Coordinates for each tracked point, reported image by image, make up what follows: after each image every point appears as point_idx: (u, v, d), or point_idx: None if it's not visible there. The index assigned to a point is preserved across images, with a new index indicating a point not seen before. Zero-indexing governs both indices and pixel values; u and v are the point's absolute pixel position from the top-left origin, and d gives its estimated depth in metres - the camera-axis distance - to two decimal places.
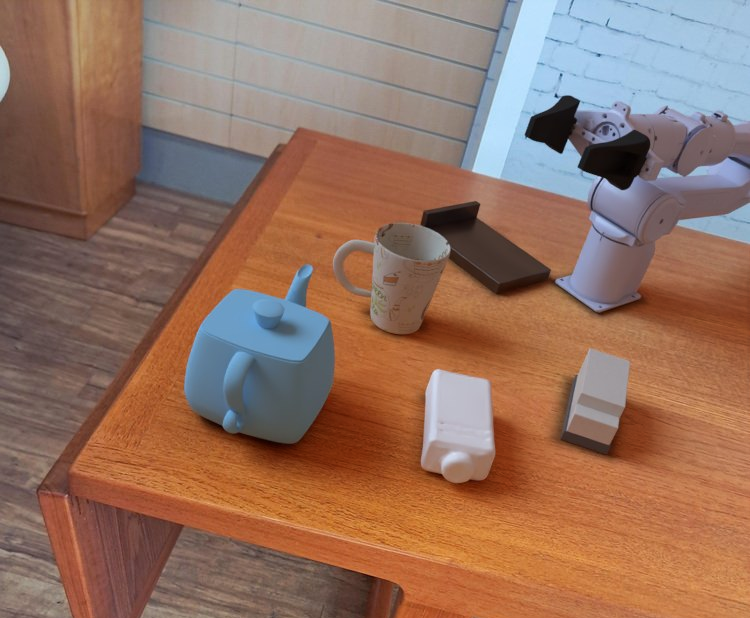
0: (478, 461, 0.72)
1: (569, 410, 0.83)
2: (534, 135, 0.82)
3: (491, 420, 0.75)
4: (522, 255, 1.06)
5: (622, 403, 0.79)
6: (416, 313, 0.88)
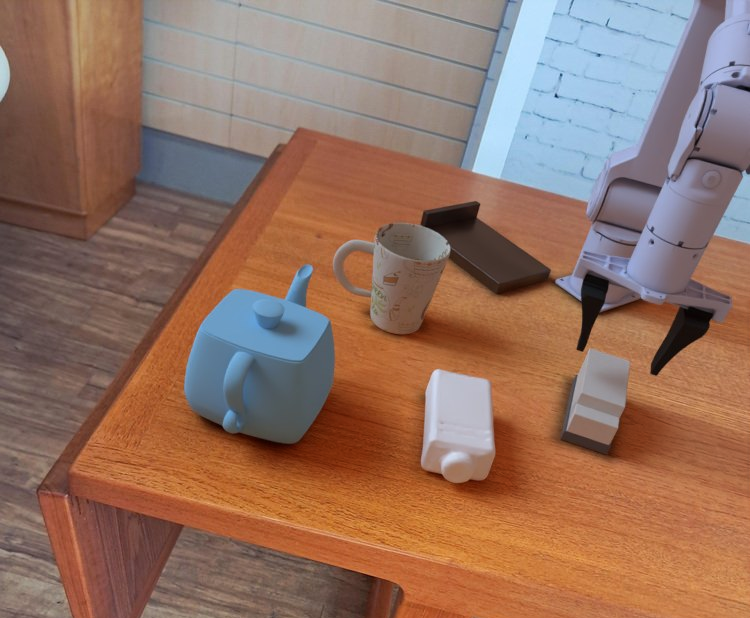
0: (478, 461, 0.72)
1: (569, 410, 0.83)
2: None
3: (491, 420, 0.75)
4: (522, 255, 1.06)
5: (622, 403, 0.79)
6: (416, 313, 0.88)
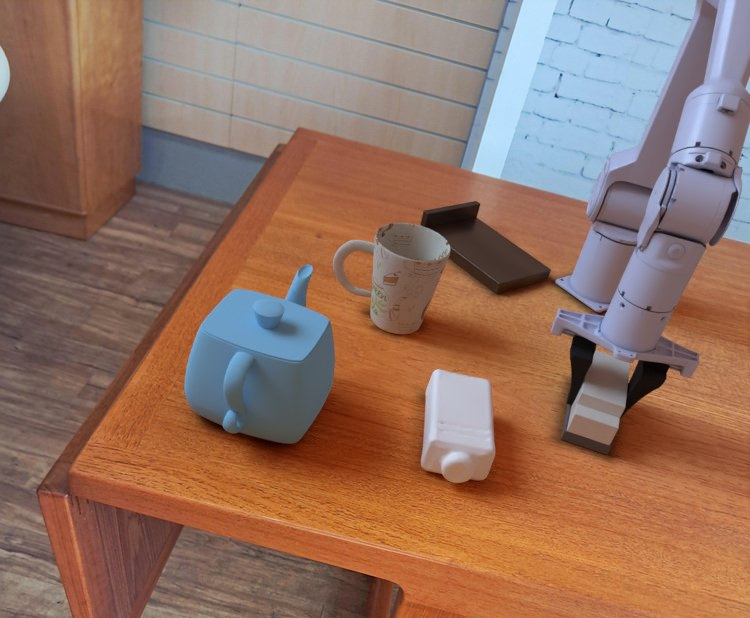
0: (478, 461, 0.72)
1: (569, 410, 0.83)
2: None
3: (491, 420, 0.75)
4: (522, 255, 1.06)
5: (622, 403, 0.79)
6: (416, 313, 0.88)
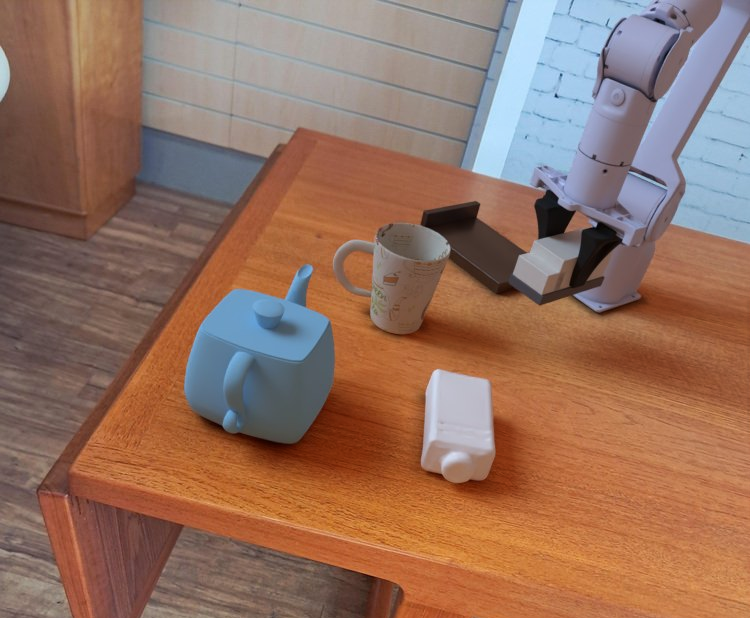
0: (478, 461, 0.72)
1: None
2: None
3: (491, 420, 0.75)
4: None
5: (565, 258, 0.84)
6: (416, 313, 0.88)
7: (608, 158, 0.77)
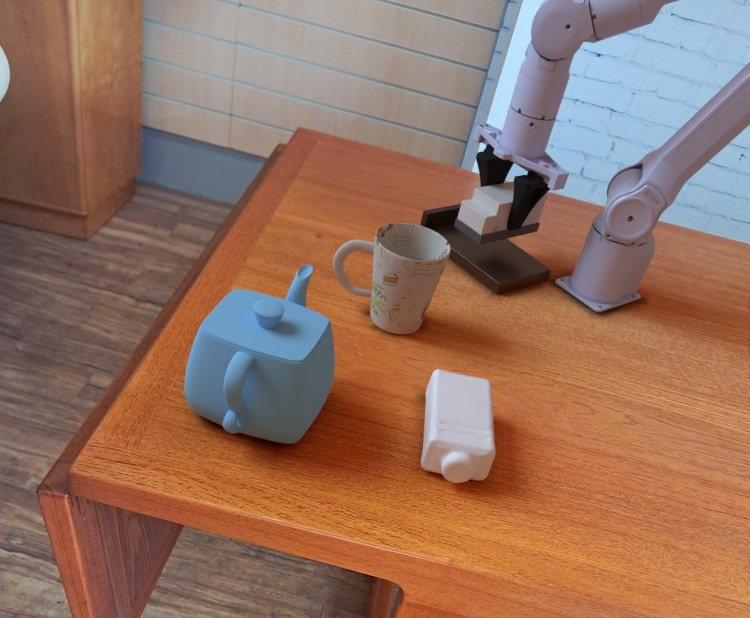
0: (478, 461, 0.72)
1: None
2: None
3: (491, 420, 0.75)
4: (522, 255, 1.06)
5: (500, 202, 0.97)
6: (416, 313, 0.88)
7: (512, 102, 0.91)
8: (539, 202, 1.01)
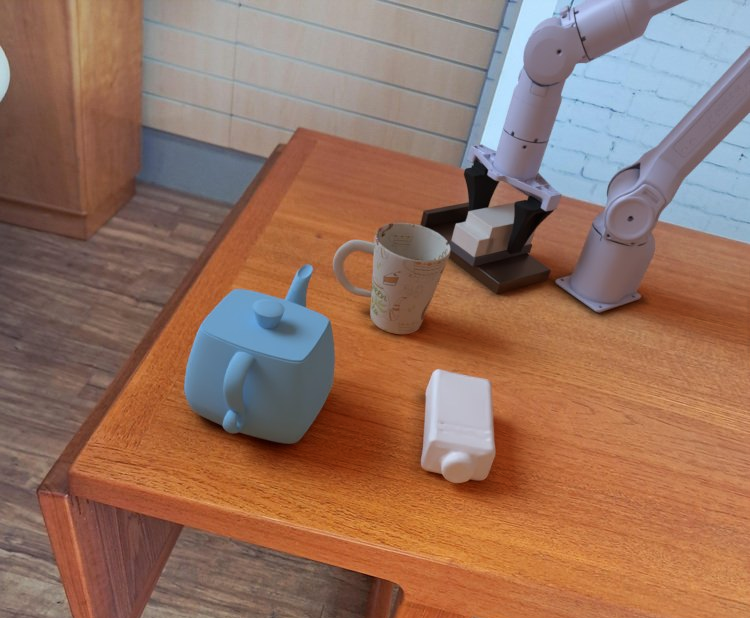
0: (478, 461, 0.72)
1: None
2: None
3: (491, 420, 0.75)
4: (522, 255, 1.06)
5: (493, 226, 0.99)
6: (416, 313, 0.88)
7: (506, 125, 0.93)
8: None
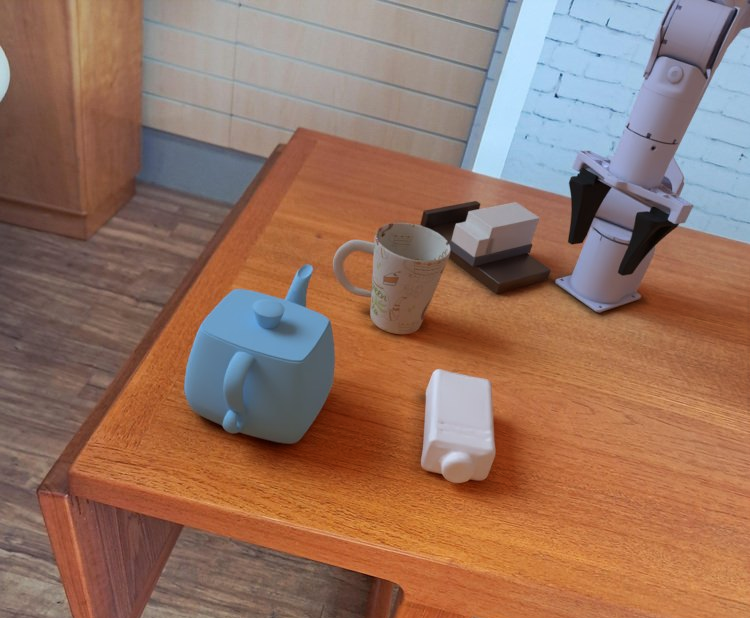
0: (478, 461, 0.72)
1: None
2: (583, 236, 0.91)
3: (491, 420, 0.75)
4: (522, 255, 1.06)
5: (493, 226, 0.99)
6: (416, 313, 0.88)
7: (663, 136, 0.78)
8: (531, 224, 1.03)
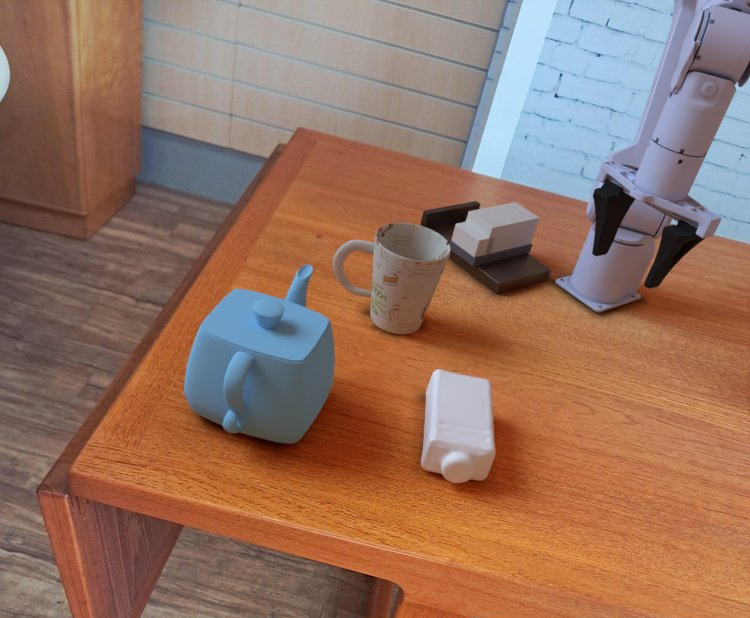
0: (478, 462, 0.72)
1: None
2: (607, 247, 0.89)
3: (491, 420, 0.75)
4: (522, 255, 1.06)
5: (493, 226, 0.99)
6: (416, 313, 0.88)
7: (696, 150, 0.77)
8: (531, 224, 1.03)
